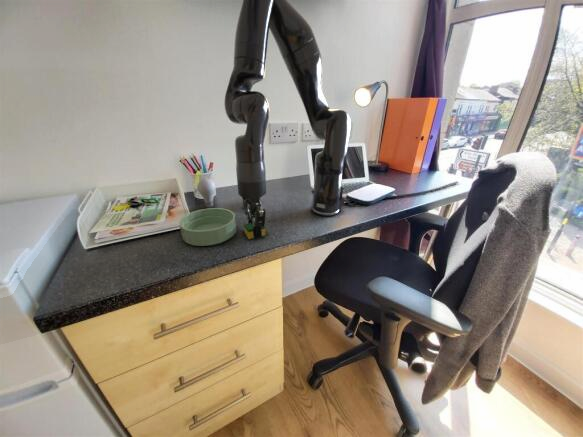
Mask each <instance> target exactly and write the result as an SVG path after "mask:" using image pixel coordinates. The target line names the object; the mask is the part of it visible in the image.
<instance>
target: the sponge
mask: <svg viewBox="0 0 583 437" xmlns="http://www.w3.org/2000/svg"><path fill="white" fill-rule="evenodd" d="M243 227H244V228H243V229H244V234H245V235H246V237H247V239H249V240H251V239H255V238H254V235H253V224H252V223H248V222H247V223H244V224H243ZM261 232H262V236H261V237H264V236H266V227H265V225H264V226H263V227H261Z"/></svg>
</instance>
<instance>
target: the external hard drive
mask: <svg viewBox="0 0 583 437" xmlns="http://www.w3.org/2000/svg"><path fill="white" fill-rule="evenodd" d="M395 192H396V189H395V188H394V187H392V186H387V185H384V184H379V183H370V184H368V185H366V186H363V187H360V188H358V189H357V188H356V189H354V190H352V191H350V192H347V193H346V195H345V199H346V200H348V201H349V202H350V201H351V202H353V203H355V202H357V204H360V205H364V206H369V205H374V204H375V203H378V202H379V201H382V200H385V199H384V198H385V197H386V196H393V195H394V194H395Z"/></svg>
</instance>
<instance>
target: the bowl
mask: <svg viewBox="0 0 583 437" xmlns="http://www.w3.org/2000/svg"><path fill="white" fill-rule="evenodd" d="M178 224H179V230H180V233H181V239H182V240H183V241H184V242H185V243H186V244H189V245H190V246H191V245H192V246H197V247H204V246H206V247H207V246H214V245H218V244H222V243H224V242H226V241H228V240H230V239H231V238H232V237H234V236H235V234H236V233H237V229H238V227H237V218H236V214H235V212H234V211H232V210H230V209H226V208H223V207H220V208H219V207H211V208H208V207H207V208H203V209H198V210H194V211H191V212H189V213H187V214H185V215H184V216H182V217H181V218H180V220H179V221H178Z"/></svg>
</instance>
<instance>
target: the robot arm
mask: <svg viewBox="0 0 583 437" xmlns="http://www.w3.org/2000/svg"><path fill="white" fill-rule="evenodd" d="M235 28H236V29H235V35H234V37H235V38H234V48H233V49H234V50H233V52H234V53H233V68H232V70H231V74H230V77H229V80H228V84H227V87H226V91H225V96H224V104H223V105H224V111H225V114H226V117H227V119H228V120H230V122H232V123H234V124H237V125H246V129H245V133H244V134H241V135H238V136H236V137H235V140H234V149H235V159H236V161H235V162H236V164H235V170H236V184H237V193H238V196H240V197H241V198H242V203H243V204H244V207H243V210H244V215H245V216H246V219H247V223H252V224H253V235H254V238H253V239H259V238H262V237H263V236H262V232H261V227H263V226H265V222H266V212H267V211H266V210H267V209H266V208H263V201H262V200H261V199H260V198H262V197H264V196H265V195H267V176H266V175H267V174H266V172H267V171H266V165H265V151H264V150H265V149H264V143H265V138H266V133H267V128H268V124H269V118H270V104H269V101H268V99H267V97H266V96H265V95H264V94H263V93H262V92H261V91H258V90H257V91H256V90H252V89H253V87H254V85H256V84H257V83H260V82H262V81H264V79H265V76H266V66H267V65H266V64H267V57H268V56H267V54H268V41H269V33H271V35H272V37H273V39H274V42H275V44H276V46H277V48H278V50H279V54H280V55H281V58H282V60H283V62H284V64H285V67H286V69H287V71H288V74H289V75H290V77H291V79H292V81H293V84H294V87H295V89H296V91H297V93H298V95H299V98H300V99H301V102H302V105H303V107H304V110H305V113H306V117H307V119H308V122H309V125H310V128H311V130H312V132H313V134H314V136H315V137H316V138H317V139H319V140H320V141H324V144H323V149H322V151H319V152H317V153H316V154H315V158H314V175H313V176H314V177H313V178H314V179H313V198H312V199H313V200H312V212H313V213H314V214H316V215H319V216H322V217H323V216H324V217H333V216H336V215H338V214H339V213H340V212H342V206H344V205H345V203H346V205H347V206H349V207H353V206H355V205H357V204H358V203H357V202H353V203H350V200H348V199H347V198H346V197H345V196H343V195H344V194H343V193H344V186H343V184H342V181H343V170H344V163H345V158H346V156H347V154H348V148H349V142H350V136H351V130H352V129H351V128H352V123H351V122H352V121H351V118H350V115H349V113H348V112H347V111H346V110H344V109H334V108H333V109H332V108H330V106H329V105H328V102H327V100H326V97H325V95H324V91H323V58H322V54H321V50H320V48H319V44H318V41H317V38H316V37H315V33H314V31H313V29H312V26H311V25H310V24H309V23H308V21H307V19H306V18H305V17H304V16H303V15H302V14H301V13H300V12H299V11H298V10H297V9H296V8H295V7H294V5H292V3H291V2H290V1H289V0H242V2H241V6H240V11H239V14H238V19H237V24H236V27H235ZM458 183H459V181H454V182H451V183H447V184H445V185H442V186H440V187H439V186H438V187H435V188H431V189H428V190H423V191H417V192H411V193H404V194H395V195H390V196H386V197H385V198H384V199H383V200H385V199H386V200H387V199H395V198H404V197H411V196H417V195H423V194H428V193H431V192H435V191H439V190H442V189H446V188H448V187H450V186H453V185H456V184H458ZM243 204H242V205H243Z"/></svg>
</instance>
